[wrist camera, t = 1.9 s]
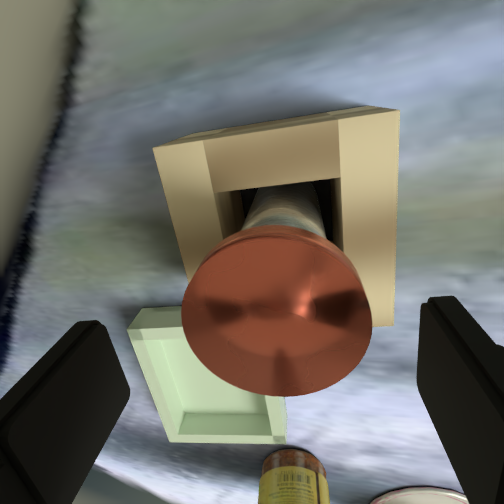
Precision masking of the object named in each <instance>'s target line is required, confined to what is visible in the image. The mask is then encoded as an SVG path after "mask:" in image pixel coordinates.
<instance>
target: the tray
mask: <svg viewBox="0 0 504 504" xmlns="http://www.w3.org/2000/svg"><path fill="white" fill-rule="evenodd" d="M181 308H182V306H172V307H155V308H142V309H141V311H140V312H139V313H138V315H137V316H136V317H135V319H134V320H133V322H132V323H131V324H130V326H129V327H128V328H127V332H128V335H129V337H130V340H131V342H132V345H133V348H134V350H135V353H136V356H137V358H138V361H139V363H140V366H141V369H142V371H143V374H144V376H145V379H146V382H147V384H148V387H149V389H150V392H151V395H152V397H153V400H154V402H155V405H156V408H157V410H158V413H159V415H160V418H161V421H162V423H163V426H164V429H165V431H166V434H167V436H168V439H169V442H185V443H242V444H286V440H287V411H286V405H285V398H284V397H278V396H267V395H261V394H256V393H252V392H249V391H246V390H242V389H240V388H237V387H235V386H233V385H231V384H229V383H227V382H225V381H224V380H222V379H220V378H219V377H217V376H216V375H215V374H213V373H212V372H211V371H210V370H208V369H207V368H206V367H205V366H204V365H203V364H202V363H201V362H200V360H199V359H198V358H197V357H196V355H195V354H194V353H193V351H192V350H191V348H190V346H189V344H188V342H187V340H186V337H185V334H184V331H183V326H182V320H181Z"/></svg>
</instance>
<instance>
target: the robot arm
mask: <svg viewBox="0 0 504 504" xmlns="http://www.w3.org/2000/svg"><path fill="white" fill-rule="evenodd" d="M417 386H418V390H419V393H420V395H421V398H422V400H423V402H424V404H425V407H426V409H427V411H428V413H429V415H430V418H431V420H432V422H433V424H434V427H435V429H436V431H437V433H438V436H439V438H440V440H441V442H442V444H443V447H444V449H445V451H446V453H447V456H448V458H449V460H450V462H451V465H452V467H453V469H454V471H455V473H456V476H457V478H458V480H459V482H460V485H461V487H462V489H463V491H464V494H465V496H466V498H467V500H468V502H469V504H504V347H503V346H501V345H496V344H495V343H494V341H493V340H492V339H491V338H490V337H489V336H488V334H487V333H486V332H485V331H484V330H483V329H482V327H481V326H480V325H479V324H478V323H477V322H476V321H475V319H474V318H473V317H472V316H471V315H470V314H469V312H468V311H467V310H466V309H465V308H464V307H463V305H462V304H461V303H460V302H459V301H458V300H457V298H455V297H454V296H441V297H430V298H429V299H428V302H427V303H422V305H421V310H420V327H419V345H418V362H417ZM129 397H130V388H129V385H128V382H127V380H126V377H125V375H124V372H123V370H122V367H121V365H120V362H119V359H118V357H117V354H116V352H115V349H114V347H113V344H112V342H111V339H110V337H109V334H108V331H107V329H106V327H105V326H104V325H102V324H101V323H100V322H99V321H97V320H90V321H79V322H77V323H75V324H74V325H73V326H72V327H71V328H70V329H69V330H68V331H67V332H66V333H65V334H64V335H63V336H62V337H61V338H60V339H59V340H58V342H57V343H56V344H55V345H54V346H53V347H52V348H51V349H50V350H49V351H48V352H47V353H46V354H45V355H44V356H43V357H42V358H41V359H40V360H39V361H38V362H37V363H36V364H35V365H34V366H33V367H32V368H31V369H30V370H29V371H28V372H27V373H26V374H25V375H24V376H23V377H22V378H21V379H20V380H19V381H18V382H17V383H16V384H15V385H14V386H13V387H12V388H11V389H10V390H9V391H8V392H7V393H6V394H5V395H4V396H3V397H2V398H1V399H0V504H72V502H73V500H74V499H75V497H76V495H77V493H78V491H79V489H80V488H81V486H82V484H83V482H84V480H85V479H86V477H87V475H88V473H89V471H90V469H91V468H92V466H93V464H94V462H95V460H96V459H97V457H98V455H99V453H100V451H101V449H102V448H103V446H104V444H105V442H106V440H107V438H108V437H109V435H110V433H111V431H112V429H113V428H114V426H115V424H116V422H117V420H118V418H119V417H120V415H121V413H122V411H123V409H124V408H125V406H126V404H127V402H128V400H129Z"/></svg>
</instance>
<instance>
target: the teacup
mask: <svg viewBox="0 0 504 504" xmlns="http://www.w3.org/2000/svg"><path fill="white" fill-rule="evenodd" d="M370 504H469V502H468V500H467V498H466V496H465V495H463V494H461V493H458V492H455V491H452V490H446V489H440V488H433V487H419V488H406V489H401V490H397V491H392V492H389V493H387V494H385V495H382V496H380V497H378V498H376V499H374V500H373V501H372V502H371V503H370Z"/></svg>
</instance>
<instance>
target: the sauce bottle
mask: <svg viewBox="0 0 504 504" xmlns="http://www.w3.org/2000/svg"><path fill="white" fill-rule="evenodd" d="M258 504H330V500H329V490H328V484H327V481H326V472H325V469H324V467H323V465H322V464H321V462H320V461H319V460H318V459H317V458H316V457H315V456H313V455H312V454H310V453H307V452H305V451H301V450H296V449H285V450H278V451H276V452H273V453H272V454H271V455H269V456H268V457H267V458H266V459H265V460H264V462H263V468H262V475H261V479H260V482H259V496H258Z"/></svg>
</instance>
